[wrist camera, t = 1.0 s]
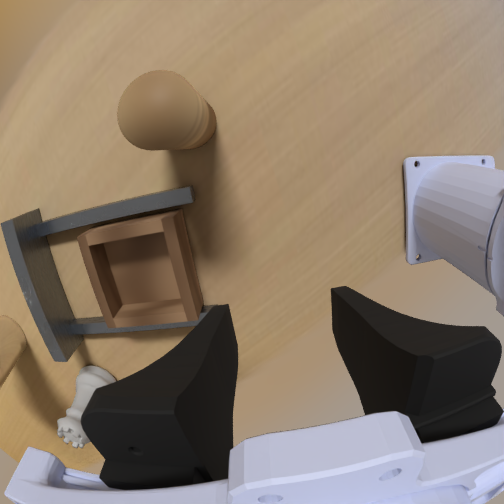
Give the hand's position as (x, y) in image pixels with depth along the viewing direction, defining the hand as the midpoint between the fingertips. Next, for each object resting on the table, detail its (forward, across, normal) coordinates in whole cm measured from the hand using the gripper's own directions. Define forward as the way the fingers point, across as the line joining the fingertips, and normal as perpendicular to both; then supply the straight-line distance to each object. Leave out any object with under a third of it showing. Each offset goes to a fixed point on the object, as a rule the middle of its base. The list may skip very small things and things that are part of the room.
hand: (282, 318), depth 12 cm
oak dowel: (+9, +4, -9) cm, 14 cm away
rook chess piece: (+10, +18, +11) cm, 23 cm away
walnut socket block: (+9, +9, 0) cm, 13 cm away
